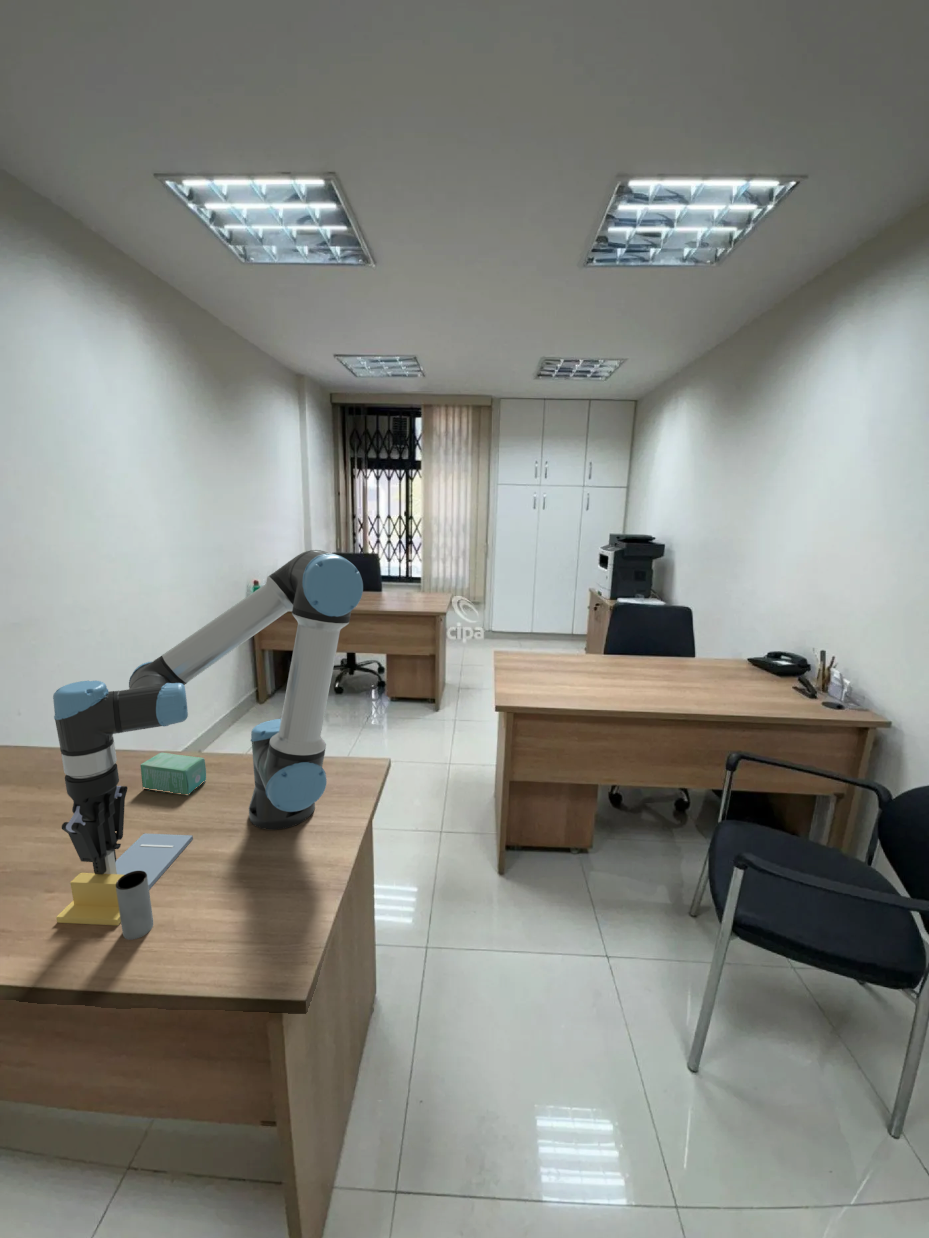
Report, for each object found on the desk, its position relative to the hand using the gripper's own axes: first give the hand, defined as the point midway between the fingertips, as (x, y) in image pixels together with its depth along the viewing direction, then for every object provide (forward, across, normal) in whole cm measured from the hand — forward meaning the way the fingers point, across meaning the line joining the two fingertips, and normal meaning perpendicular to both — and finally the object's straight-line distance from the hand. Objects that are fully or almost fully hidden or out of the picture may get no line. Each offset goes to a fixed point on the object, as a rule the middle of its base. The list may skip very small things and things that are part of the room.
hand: (108, 883), depth 94 cm
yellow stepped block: (+3, +3, 0) cm, 5 cm away
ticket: (+4, -10, 0) cm, 10 cm away
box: (+4, -39, -11) cm, 41 cm away
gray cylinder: (+4, +6, +10) cm, 12 cm away
